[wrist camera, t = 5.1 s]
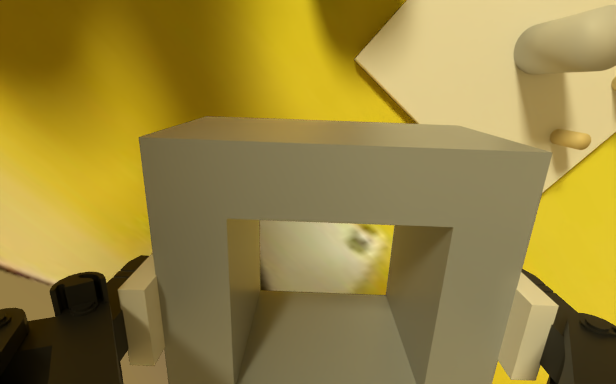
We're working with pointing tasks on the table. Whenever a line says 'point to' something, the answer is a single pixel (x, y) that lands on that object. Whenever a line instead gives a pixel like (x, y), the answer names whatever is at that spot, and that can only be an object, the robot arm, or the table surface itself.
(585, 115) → the post block
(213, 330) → the grey hollow box
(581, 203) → the table surface
